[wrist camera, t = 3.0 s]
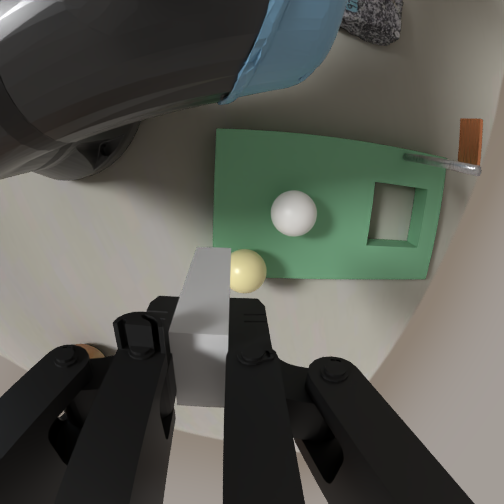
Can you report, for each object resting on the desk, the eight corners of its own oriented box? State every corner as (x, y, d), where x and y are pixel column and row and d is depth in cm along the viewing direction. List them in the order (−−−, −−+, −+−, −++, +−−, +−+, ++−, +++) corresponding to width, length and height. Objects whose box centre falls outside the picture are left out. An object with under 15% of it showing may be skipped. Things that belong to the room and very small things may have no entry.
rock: (399, -11, 23) (415, -23, 19) (386, 53, 26) (405, 44, 22) (339, -37, 22) (351, -54, 18) (321, 26, 25) (333, 12, 21)
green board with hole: (214, 266, 33) (212, 276, 31) (218, 129, 28) (216, 128, 26) (415, 270, 34) (425, 279, 32) (434, 156, 30) (447, 158, 27)
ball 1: (222, 281, 31) (221, 300, 27) (223, 242, 29) (221, 257, 26) (263, 282, 31) (266, 301, 27) (265, 243, 30) (270, 259, 26)
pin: (402, 160, 27) (473, 175, 17) (405, 119, 26) (477, 117, 16) (408, 161, 27) (480, 176, 17) (411, 121, 26) (485, 120, 16)
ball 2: (267, 228, 29) (271, 241, 25) (269, 185, 28) (275, 192, 24) (308, 230, 29) (319, 243, 26) (313, 188, 28) (324, 196, 24)
